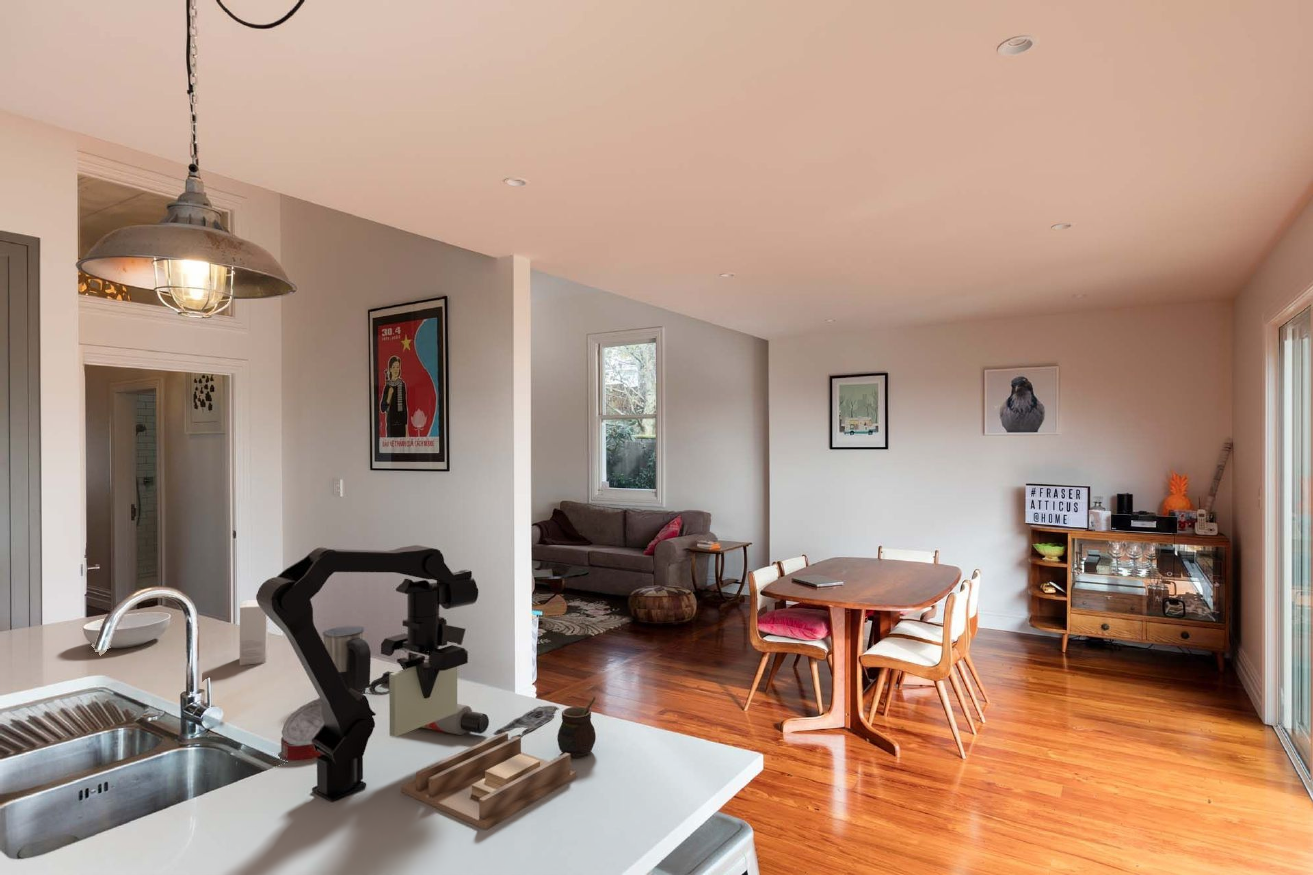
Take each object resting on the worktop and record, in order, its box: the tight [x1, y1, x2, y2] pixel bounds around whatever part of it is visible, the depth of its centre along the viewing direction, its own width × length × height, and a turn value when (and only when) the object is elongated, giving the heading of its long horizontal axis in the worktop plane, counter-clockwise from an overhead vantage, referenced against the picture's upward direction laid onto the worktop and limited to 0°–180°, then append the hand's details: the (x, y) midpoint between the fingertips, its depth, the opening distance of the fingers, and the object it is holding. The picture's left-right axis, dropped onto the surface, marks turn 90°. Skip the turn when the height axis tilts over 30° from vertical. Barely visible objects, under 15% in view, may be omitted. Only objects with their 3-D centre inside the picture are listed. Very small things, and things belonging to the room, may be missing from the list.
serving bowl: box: [82, 611, 172, 649], centre depth 215 cm, size 21×21×7 cm
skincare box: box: [239, 599, 269, 667], centre depth 198 cm, size 8×7×16 cm
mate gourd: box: [556, 696, 597, 759], centre depth 140 cm, size 7×8×10 cm
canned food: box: [280, 698, 325, 762], centre depth 142 cm, size 11×10×10 cm
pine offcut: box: [472, 778, 502, 798], centre depth 125 cm, size 11×6×2 cm, turn 145°
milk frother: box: [321, 625, 395, 694], centre depth 175 cm, size 14×16×15 cm
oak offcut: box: [485, 754, 540, 786], centre depth 126 cm, size 8×5×2 cm, turn 145°
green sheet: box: [388, 666, 458, 738], centre depth 138 cm, size 14×2×11 cm, turn 145°
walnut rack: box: [400, 732, 577, 831], centre depth 127 cm, size 21×21×4 cm
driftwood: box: [492, 705, 560, 740], centre depth 153 cm, size 21×7×2 cm, turn 151°
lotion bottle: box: [421, 703, 490, 736], centre depth 151 cm, size 6×6×20 cm
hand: (423, 696), depth 138 cm, fingers closed on green sheet, 2 cm apart
